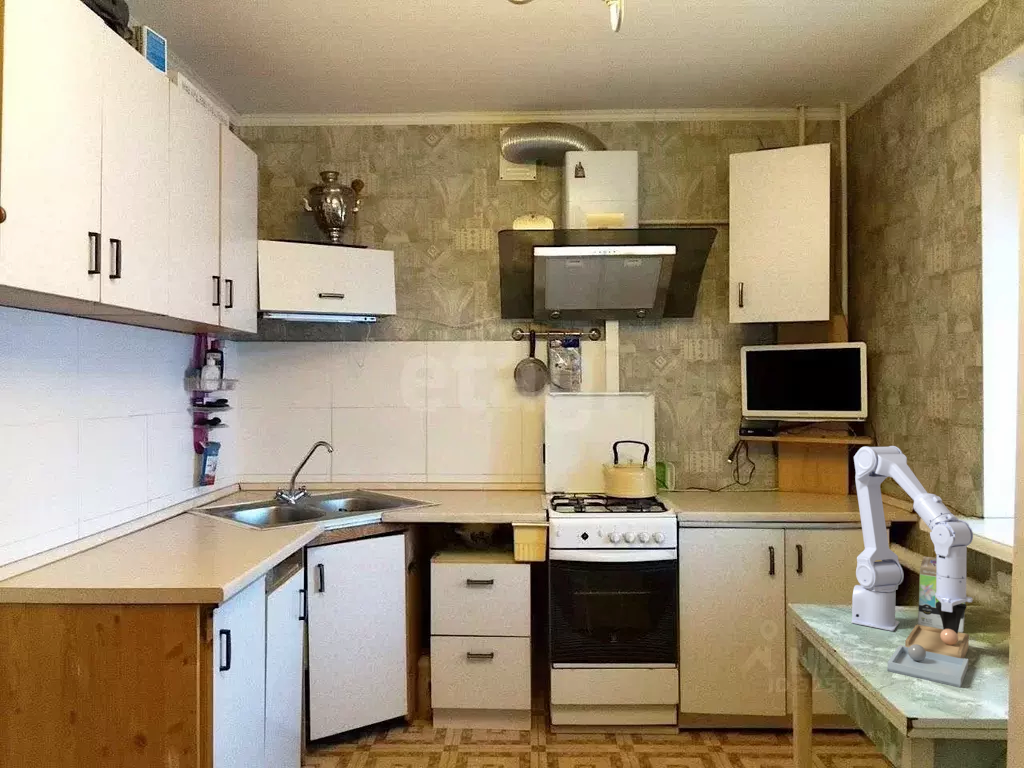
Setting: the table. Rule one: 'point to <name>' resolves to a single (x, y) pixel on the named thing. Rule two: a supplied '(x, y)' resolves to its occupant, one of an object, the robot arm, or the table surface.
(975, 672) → the table surface
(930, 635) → the oak tray
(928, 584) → the tea box
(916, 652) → the pebble grey
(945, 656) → the ceramic dish
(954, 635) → the pebble terracotta
